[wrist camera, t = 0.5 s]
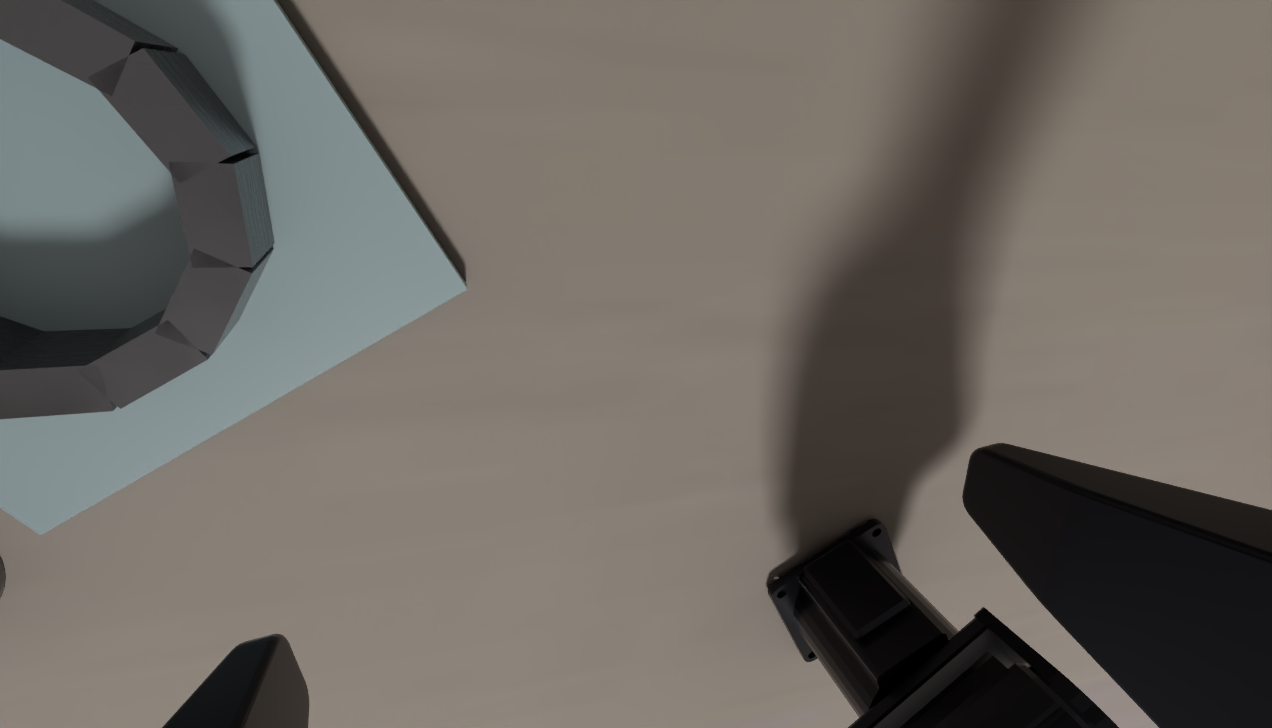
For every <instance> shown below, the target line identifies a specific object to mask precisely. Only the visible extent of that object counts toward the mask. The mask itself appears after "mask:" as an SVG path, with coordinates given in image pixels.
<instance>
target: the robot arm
mask: <svg viewBox="0 0 1272 728" xmlns="http://www.w3.org/2000/svg"><path fill="white" fill-rule="evenodd" d="M962 497H963V503H964V507H965V509H966V510H967V512H968V514H969V515H970V516H971V518H972V519H973V520H974V521H975V522H976V524H977V525H978V526H979V527H980V529H981V530H982V531H983V532H984V534H985V535H986V536H987V537H988V539H989V540H990V541H991V542H992V544H993V545H994V546H995V547H996V548H997V550H998V551H999V552H1000V553H1001V555H1002V556H1003V557H1004V558H1005V560H1006V561H1007V562H1008V563H1009V565H1010V566H1011V567H1012V568H1013V570H1014V571H1015V572H1016V573H1017V574H1018V576H1019V577H1020V578H1021V579H1022V581H1023V582H1024V583H1025V584H1026V586H1027V587H1028V588H1029V589H1030V590H1031V592H1032V593H1033V594H1034V595H1035V596H1036V598H1037V599H1038V600H1039V601H1040V602H1041V603H1042V605H1043V606H1044V607H1045V608H1046V609H1047V610H1048V611H1049V612H1050V613H1051V614H1052V615H1053V617H1054V618H1055V619H1056V620H1057V621H1058V622H1059V623H1060V624H1061V625H1062V626H1063V627H1064V628H1065V629H1066V630H1067V631H1068V632H1069V633H1070V634H1071V635H1072V637H1073V638H1074V639H1075V640H1076V641H1077V642H1078V643H1079V644H1080V645H1081V646H1082V647H1083V648H1084V649H1085V650H1086V651H1087V652H1088V653H1089V654H1090V655H1091V656H1092V658H1093V659H1094V660H1095V661H1096V662H1097V663H1098V664H1099V665H1100V666H1101V667H1102V668H1103V669H1104V670H1105V671H1106V672H1107V673H1108V674H1109V675H1110V676H1111V678H1112V679H1113V680H1114V681H1115V682H1116V683H1117V684H1118V685H1119V686H1120V687H1121V688H1122V689H1123V690H1124V691H1125V692H1126V693H1127V694H1128V695H1129V696H1130V697H1131V699H1132V700H1133V701H1134V702H1135V703H1136V704H1137V705H1138V706H1139V707H1140V708H1141V709H1142V710H1143V711H1144V712H1145V713H1146V714H1147V715H1148V716H1149V717H1150V718H1151V720H1152V721H1153V722H1154V723H1155V724H1156V725H1157V726H1158V727H1159V728H1272V510H1269V509H1265V508H1261V507H1257V506H1253V505H1249V504H1245V503H1241V502H1237V501H1233V500H1229V499H1225V498H1221V497H1217V496H1213V495H1209V494H1205V493H1201V492H1197V491H1193V490H1189V489H1185V488H1181V487H1177V486H1173V485H1169V484H1165V483H1161V482H1157V481H1153V480H1149V479H1145V478H1141V477H1137V476H1133V475H1129V474H1125V473H1121V472H1117V471H1113V470H1109V469H1105V468H1101V467H1097V466H1094V465H1090V464H1086V463H1082V462H1078V461H1074V460H1070V459H1066V458H1062V457H1058V456H1054V455H1050V454H1046V453H1042V452H1038V451H1034V450H1030V449H1026V448H1022V447H1018V446H1014V445H1010V444H1005V443H997V444H993V445H989V446H985V447H981V448H978V449H976V450H975V451H974V452H973V453H972V454H971V456H970V459H969V464H968V469H967V474H966V479H965V484H964V489H963V496H962ZM768 594H769V596H770V598H771V600H772V602H773V604H774V606H775V607H776V609H777V611H778V613H779V615H780V617H781V619H782V620H783V622H784V624H785V626H786V628H787V630H788V632H789V634H790V635H791V637H792V639H793V641H794V643H795V645H796V647H797V649H798V650H799V652H800V654H801V656H802V657H803V659H804V660H805V661H806V662H811V661H813V660H815V659H817V658H818V659H819V661H820V662H821V663H822V665H823V666H824V668H825V669H826V671H827V672H828V673H829V675H830V676H831V678H832V679H833V681H834V682H835V683H836V685H837V686H838V688H839V689H840V691H841V692H842V693H843V695H844V696H845V698H846V699H847V701H848V702H849V703H850V705H851V706H852V708H853V709H854V711H855V712H856V713H857V715H858V716H859V719H857V720H856V721H855V722H854V723H853V724H852V725H851V726H849V727H848V728H1119V727H1118V726H1117V725H1116V724H1115V723H1114V722H1113V721H1112V720H1111V719H1110V718H1109V717H1108V716H1107V715H1106V714H1105V713H1104V712H1103V711H1102V710H1101V709H1100V708H1099V707H1098V706H1097V705H1096V704H1095V703H1094V702H1093V701H1091V700H1090V699H1089V698H1088V697H1087V696H1086V695H1085V694H1084V693H1083V692H1082V691H1081V690H1080V689H1079V688H1078V687H1076V686H1075V685H1074V684H1073V683H1072V682H1071V681H1070V680H1069V679H1068V678H1066V677H1065V676H1064V675H1063V674H1062V673H1061V672H1060V671H1058V670H1057V669H1056V668H1055V667H1054V666H1053V665H1051V664H1050V663H1049V662H1048V661H1047V660H1045V659H1044V658H1043V657H1042V656H1041V655H1040V654H1038V653H1037V652H1036V651H1035V650H1034V649H1032V648H1031V647H1030V646H1029V645H1028V644H1027V643H1025V642H1024V641H1023V640H1022V639H1021V638H1020V637H1018V636H1017V635H1016V634H1015V633H1014V632H1012V631H1011V630H1010V629H1009V628H1008V627H1007V626H1005V625H1004V624H1003V623H1002V622H1001V621H999V620H998V619H997V618H996V617H995V616H994V615H992V614H991V613H990V612H989V611H988V610H987V609H985V608H984V607H983V608H982V609H981V610H979V611H978V612H977V613H976V614H975V615H974V616H975V618H974V619H973V620H972V621H971V622H969V623H968V624H967V625H966V626H965V627H964V628H963V629H961V630H960V631H958V630H957V629H956V628H955V627H954V626H953V625H952V624H951V623H950V622H949V621H948V620H947V619H946V618H945V617H944V616H943V615H942V614H941V613H940V612H939V611H938V610H937V609H936V608H935V607H934V606H933V605H932V604H931V603H930V602H929V601H928V600H927V599H926V598H925V597H924V596H923V595H922V594H921V593H920V592H919V591H918V590H917V589H916V588H915V587H914V586H913V585H912V584H911V583H910V582H909V581H908V580H907V579H906V578H905V577H904V576H903V575H902V574H901V573H900V570H899V567H898V564H897V561H896V558H895V555H894V552H893V549H892V546H891V543H890V540H889V537H888V534H887V531H886V528H885V526H884V525H883V524H882V523H881V522H880V521H879V520H877V519H872V520H870V521H868V522H867V523H865V524H864V525H862V526H861V527H859V528H857V529H856V530H854V531H853V532H851V533H850V534H848V535H847V536H845V537H844V538H842V539H840V540H839V541H837V542H836V543H834V544H833V545H831V546H830V547H828V548H826V549H825V550H823V551H822V552H820V553H819V554H817V555H816V556H814V557H812V558H811V559H809V560H808V561H806V562H805V563H803V564H802V565H800V566H799V567H797V568H795V569H794V570H792V571H791V572H789V573H788V574H786V575H785V576H783V577H781V578H780V579H778V580H777V581H775V582H774V583H773V584H771V585H770V587H769V589H768ZM308 719H309V695H308V689H307V685H306V682H305V680H304V677H303V675H302V673H301V670H300V668H299V666H298V663H297V661H296V659H295V656H294V654H293V651H292V649H291V647H290V644H289V642H288V640H287V639H286V638H285V637H284V636H283V635H281V634H272V635H269V636H265V637H261V638H257V639H254V640H250V641H246V642H243V643H241V644H239V645H238V646H236V647H235V648H234V649H233V650H232V651H231V652H230V653H229V654H228V655H227V656H226V657H225V658H224V660H223V661H222V662H221V663H220V664H219V665H218V666H217V667H216V668H215V670H214V671H213V672H212V673H211V674H210V675H209V676H208V677H207V678H206V680H205V681H204V682H203V683H202V684H201V685H200V686H199V687H198V688H197V690H196V691H195V692H194V693H193V694H192V695H191V696H190V697H189V698H188V700H187V701H186V702H185V703H184V704H183V705H182V706H181V707H180V708H179V710H178V711H177V712H176V713H175V714H174V715H173V716H172V717H171V718H170V720H169V721H168V722H167V723H166V724H165V725H164V726H163V727H162V728H308Z"/></svg>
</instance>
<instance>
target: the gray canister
mask: <svg viewBox="0 0 1272 728" xmlns="http://www.w3.org/2000/svg"><path fill="white" fill-rule="evenodd" d="M5 579H6V577H5V569H4V566H3V563H2V560H1V558H0V598H1V596H2V593H3V590H4V587H5Z"/></svg>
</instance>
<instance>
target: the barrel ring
mask: <svg viewBox="0 0 1272 728" xmlns="http://www.w3.org/2000/svg"><path fill="white" fill-rule="evenodd" d="M0 39H1V40H3V41H5V42H7V43H9V44H11V45H12V46H14V47H16V48H18V49H20V50H22V51H24V52H26V53H28V54H30V55H32V56H34V57H36V58H38V59H40V60H42V61H44V62H46V63H48V64H50V65H52V66H54V67H55V68H57V69H59V70H61V71H63V72H65V73H67V74H69V75H71V76H73V77H75V78H77V79H79V80H81V81H83V82H85V83H87V84H89V85H91V86H93V87H95V88H97V89H98V90H99V91H100V92H101V93H102V95H103V96H104V97H105V98H106V99H107V100H108V101H109V103H110V104H111V105H112V106H113V107H114V108H115V110H116V111H117V112H118V113H119V114H120V115H121V116H122V118H123V119H124V120H125V121H126V122H127V123H128V124H129V126H130V127H131V128H132V129H133V130H134V131H135V133H136V134H137V135H138V136H139V137H140V138H141V139H142V141H143V142H144V143H145V144H146V145H147V146H148V148H149V149H150V150H151V151H152V152H153V153H154V154H155V156H156V157H157V158H158V159H159V160H160V161H161V162H162V164H163V165H164V166H165V167H166V168H167V169H168V171H169V172H170V173H171V176H172V180H173V185H174V189H175V193H176V198H177V202H178V207H179V211H180V216H181V220H182V224H183V229H184V233H185V238H186V242H187V247H188V251H189V255H190V258H189V261H188V263H187V265H186V267H185V269H184V271H183V274H182V276H181V278H180V280H179V282H178V284H177V287H176V289H175V291H174V293H173V295H172V297H171V300H170V302H169V304H168V306H167V308H166V309H164V310H162V311H161V312H159V313H157V314H155V315H153V316H152V317H150V318H148V319H146V320H144V321H143V322H141V323H139V324H137V325H135V326H134V327H132V328H120V329H93V330H67V331H42V330H39V329H36V328H33V327H30V326H27V325H24V324H22V323H19V322H16V321H13V320H10V319H7V318H4V317H1V316H0V419H13V418H26V417H40V416H54V415H68V414H81V413H95V412H109V411H114V410H115V409H116V408H117V407H119V408H120V409H122V408H123V407H125V406H127V405H129V404H130V403H132V402H134V401H136V400H137V399H139V398H141V397H143V396H144V395H146V394H148V393H150V392H152V391H153V390H155V389H157V388H159V387H160V386H162V385H164V384H166V383H167V382H169V381H171V380H173V379H175V378H176V377H178V376H180V375H182V374H183V373H185V372H187V371H189V370H190V369H192V368H194V367H196V366H198V365H199V364H201V363H203V362H205V361H206V360H208V359H209V358H210V356H211V355H213V354H214V352H215V351H216V350H217V348H218V347H219V346H220V344H221V343H222V342H223V341H224V339H225V338H226V337H227V335H228V334H229V333H230V331H231V330H232V329H233V327H234V326H235V325H236V324H237V322H238V321H239V319H240V317H241V315H242V313H243V311H244V309H245V307H246V305H247V303H248V301H249V299H250V297H251V295H252V293H253V291H254V289H255V286H256V284H257V282H258V280H259V278H260V276H261V274H262V272H263V270H264V268H265V266H266V264H267V262H268V260H269V258H270V256H271V254H272V252H273V250H274V249H273V248H271V247H272V246H273V245H274V243H275V242H274V236H273V230H272V224H271V218H270V212H269V206H268V200H267V194H266V188H265V183H264V177H263V171H262V165H261V159H260V153H246V152H248V151H249V150H251V149H253V148H255V147H257V146H256V145H255V144H254V143H253V141H252V140H251V139H250V137H249V136H248V135H247V134H246V132H245V131H244V130H243V128H242V127H241V126H240V124H239V123H238V122H237V121H236V119H235V118H234V117H233V115H232V114H231V113H230V112H229V110H228V109H227V108H226V106H225V105H224V104H223V102H222V101H221V100H220V99H219V97H218V96H217V95H216V93H215V92H214V91H213V90H212V88H211V87H210V86H209V84H208V83H207V82H206V80H205V79H204V78H203V77H202V75H201V74H200V73H199V71H198V70H197V69H196V68H195V66H194V65H193V64H192V62H191V61H190V60H189V58H188V57H187V56H186V55H185V54H181V53H176V52H177V50H178V48H177V47H175V46H174V45H172V44H170V43H168V42H167V41H165V40H163V39H161V38H159V37H158V36H156V35H154V34H152V33H151V32H149V31H147V30H145V29H144V28H142V27H140V26H138V25H137V24H135V23H133V22H131V21H129V20H128V19H126V18H124V17H122V16H121V15H119V14H117V13H115V12H114V11H112V10H110V9H108V8H107V7H105V6H103V5H101V4H100V3H98V2H96V1H94V0H0Z"/></svg>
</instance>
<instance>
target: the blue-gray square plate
mask: <svg viewBox="0 0 1272 728" xmlns="http://www.w3.org/2000/svg"><path fill="white" fill-rule="evenodd" d="M94 1H96V2H98V3H100V4H101V5H103V6H105V7H107V8H108V9H110V10H112V11H114V12H115V13H117V14H119V15H121V16H122V17H124V18H126V19H128V20H129V21H131V22H133V23H135V24H137V25H138V26H140V27H142V28H144V29H145V30H147V31H149V32H151V33H152V34H154V35H156V36H158V37H159V38H161V39H163V40H165V41H167V42H168V43H170V44H172V45H174V46H175V47H177V48H178V50H177V52H176V53H181V54H185V55H186V56H187V57H188V58H189V60H190V61H191V62H192V64H193V65H194V66H195V68H196V69H197V70H198V71H199V73H200V74H201V75H202V77H203V78H204V79H205V80H206V82H207V83H208V84H209V86H210V87H211V88H212V90H213V91H214V92H215V93H216V95H217V96H218V97H219V99H220V100H221V101H222V102H223V104H224V105H225V106H226V108H227V109H228V110H229V112H230V113H231V114H232V115H233V117H234V118H235V119H236V121H237V122H238V123H239V124H240V126H241V127H242V128H243V130H244V131H245V132H246V134H247V135H248V136H249V137H250V139H251V140H252V141H253V143H254V144H255V145H256V146H257V147H255V148H253V149H251V150H249V151H248V152H246V153H260V159H261V165H262V171H263V177H264V183H265V188H266V194H267V200H268V206H269V212H270V218H271V224H272V230H273V236H274V242H275V243H274V245H273V246H272V247H271V248H273V249H274V250H273V252H272V254H271V256H270V258H269V260H268V262H267V264H266V266H265V268H264V270H263V272H262V274H261V276H260V278H259V280H258V282H257V284H256V286H255V289H254V291H253V293H252V295H251V297H250V299H249V301H248V303H247V305H246V307H245V309H244V311H243V313H242V315H241V317H240V319H239V321H238V322H237V324H236V325H235V326H234V327H233V329H232V330H231V331H230V333H229V334H228V335H227V337H226V338H225V339H224V341H223V342H222V343H221V344H220V346H219V347H218V348H217V350H216V351H215V352H214V354H213V355H211V356H210V358H209V359H208V360H206V361H205V362H203V363H201V364H199V365H198V366H196V367H194V368H192V369H190V370H189V371H187V372H185V373H183V374H182V375H180V376H178V377H176V378H175V379H173V380H171V381H169V382H167V383H166V384H164V385H162V386H160V387H159V388H157V389H155V390H153V391H152V392H150V393H148V394H146V395H144V396H143V397H141V398H139V399H137V400H136V401H134V402H132V403H130V404H129V405H127V406H125V407H123V408H122V409H120V408H119V407H117V408H116V409H115V410H114V411H109V412H95V413H81V414H68V415H54V416H40V417H26V418H13V419H0V508H1V509H2V510H4V511H5V512H7V513H8V514H10V515H11V516H13V517H14V518H16V519H17V520H19V521H20V522H21V523H23V524H24V525H26V526H27V527H29V528H30V529H32V530H33V531H35V532H36V533H37V534H39V535H42V534H44V533H46V532H47V531H49V530H51V529H53V528H54V527H56V526H58V525H60V524H61V523H63V522H65V521H67V520H68V519H70V518H72V517H73V516H75V515H77V514H79V513H80V512H82V511H84V510H86V509H87V508H89V507H91V506H93V505H94V504H96V503H98V502H99V501H101V500H103V499H105V498H106V497H108V496H110V495H112V494H113V493H115V492H117V491H119V490H120V489H122V488H124V487H125V486H127V485H129V484H131V483H132V482H134V481H136V480H138V479H139V478H141V477H143V476H145V475H146V474H148V473H150V472H152V471H153V470H155V469H157V468H158V467H160V466H162V465H164V464H165V463H167V462H169V461H171V460H172V459H174V458H176V457H178V456H179V455H181V454H183V453H184V452H186V451H188V450H190V449H191V448H193V447H195V446H197V445H198V444H200V443H202V442H204V441H205V440H207V439H209V438H211V437H212V436H214V435H216V434H217V433H219V432H221V431H223V430H224V429H226V428H228V427H230V426H231V425H233V424H235V423H237V422H238V421H240V420H242V419H243V418H245V417H247V416H249V415H250V414H252V413H254V412H256V411H257V410H259V409H261V408H263V407H264V406H266V405H268V404H269V403H271V402H273V401H275V400H276V399H278V398H280V397H282V396H283V395H285V394H287V393H289V392H290V391H292V390H294V389H296V388H297V387H299V386H301V385H302V384H304V383H306V382H308V381H309V380H311V379H313V378H315V377H316V376H318V375H320V374H322V373H323V372H325V371H327V370H328V369H330V368H332V367H334V366H335V365H337V364H339V363H341V362H342V361H344V360H346V359H348V358H349V357H351V356H353V355H355V354H356V353H358V352H360V351H361V350H363V349H365V348H367V347H368V346H370V345H372V344H374V343H375V342H377V341H379V340H381V339H382V338H384V337H386V336H387V335H389V334H391V333H393V332H394V331H396V330H398V329H400V328H401V327H403V326H405V325H407V324H408V323H410V322H412V321H413V320H415V319H417V318H419V317H420V316H422V315H424V314H426V313H427V312H429V311H431V310H433V309H434V308H436V307H438V306H440V305H441V304H443V303H445V302H446V301H448V300H450V299H452V298H453V297H455V296H457V295H459V294H460V293H462V292H464V291H466V290H467V289H468V288H467V284H466V282H465V281H464V279H463V278H462V276H461V275H460V273H459V272H458V270H457V269H456V267H455V266H454V264H453V263H452V261H451V260H450V258H449V257H448V255H447V254H446V252H445V251H444V249H443V248H442V246H441V245H440V243H439V242H438V240H437V239H436V238H435V236H434V235H433V233H432V232H431V230H430V229H429V227H428V226H427V224H426V223H425V221H424V220H423V218H422V217H421V215H420V214H419V212H418V211H417V209H416V208H415V206H414V205H413V203H412V202H411V200H410V199H409V197H408V196H407V194H406V193H405V191H404V190H403V188H402V187H401V185H400V184H399V182H398V181H397V179H396V178H395V176H394V175H393V173H392V172H391V170H390V169H389V167H388V166H387V164H386V163H385V161H384V160H383V158H382V157H381V155H380V154H379V152H378V151H377V149H376V148H375V146H374V145H373V143H372V142H371V140H370V139H369V137H368V136H367V134H366V133H365V131H364V130H363V129H362V127H361V126H360V124H359V123H358V121H357V120H356V118H355V117H354V115H353V114H352V112H351V111H350V109H349V108H348V106H347V105H346V103H345V102H344V100H343V99H342V97H341V96H340V94H339V93H338V91H337V90H336V88H335V87H334V85H333V84H332V82H331V81H330V79H329V78H328V76H327V75H326V73H325V72H324V70H323V69H322V67H321V66H320V64H319V63H318V61H317V60H316V58H315V57H314V55H313V54H312V52H311V51H310V49H309V48H308V46H307V45H306V43H305V42H304V40H303V39H302V37H301V36H300V34H299V33H298V31H297V30H296V28H295V27H294V25H293V24H292V22H291V21H290V20H289V18H288V17H287V15H286V14H285V12H284V11H283V9H282V8H281V6H280V5H279V3H278V2H277V0H94ZM189 258H190V255H189V251H188V247H187V242H186V238H185V233H184V229H183V224H182V220H181V216H180V211H179V207H178V202H177V198H176V193H175V189H174V185H173V180H172V176H171V173H170V172H169V171H168V169H167V168H166V167H165V166H164V165H163V164H162V162H161V161H160V160H159V159H158V158H157V157H156V156H155V154H154V153H153V152H152V151H151V150H150V149H149V148H148V146H147V145H146V144H145V143H144V142H143V141H142V139H141V138H140V137H139V136H138V135H137V134H136V133H135V131H134V130H133V129H132V128H131V127H130V126H129V124H128V123H127V122H126V121H125V120H124V119H123V118H122V116H121V115H120V114H119V113H118V112H117V111H116V110H115V108H114V107H113V106H112V105H111V104H110V103H109V101H108V100H107V99H106V98H105V97H104V96H103V95H102V93H101V92H100V91H99V90H98V89H97V88H95V87H93V86H91V85H89V84H87V83H85V82H83V81H81V80H79V79H77V78H75V77H73V76H71V75H69V74H67V73H65V72H63V71H61V70H59V69H57V68H55V67H54V66H52V65H50V64H48V63H46V62H44V61H42V60H40V59H38V58H36V57H34V56H32V55H30V54H28V53H26V52H24V51H22V50H20V49H18V48H16V47H14V46H12V45H11V44H9V43H7V42H5V41H3V40H1V39H0V316H1V317H4V318H7V319H10V320H13V321H16V322H19V323H22V324H24V325H27V326H30V327H33V328H36V329H39V330H42V331H67V330H93V329H120V328H132V327H134V326H135V325H137V324H139V323H141V322H143V321H144V320H146V319H148V318H150V317H152V316H153V315H155V314H157V313H159V312H161V311H162V310H164V309H166V308H167V306H168V304H169V302H170V300H171V297H172V295H173V293H174V291H175V289H176V287H177V284H178V282H179V280H180V278H181V276H182V274H183V271H184V269H185V267H186V265H187V263H188V261H189Z"/></svg>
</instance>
